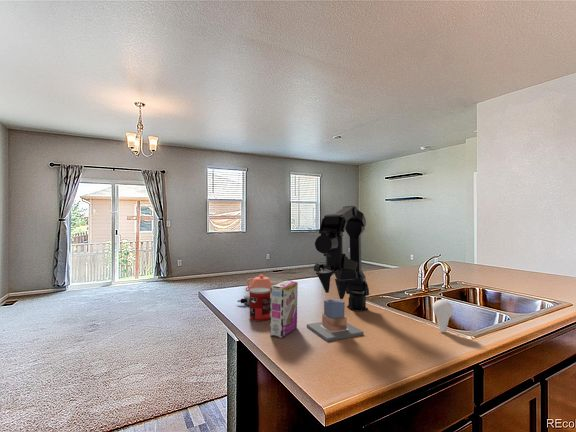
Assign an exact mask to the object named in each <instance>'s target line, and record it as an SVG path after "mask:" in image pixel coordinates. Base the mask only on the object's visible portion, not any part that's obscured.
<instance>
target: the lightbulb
mask: <svg viewBox="0 0 576 432" xmlns="http://www.w3.org/2000/svg"><path fill="white" fill-rule="evenodd" d="M432 310H433V314H434V315H435V317H436V319H437V324H438V331H439V332H441V333H446V332H447V331H448V325H449V320H450V318H451V316H452V314H453V312H454V307H453V305H452V304H451V303H450V302H449V301H448V300H445V299H437V300H436V301H435V302H434V303H433V306H432Z"/></svg>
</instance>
